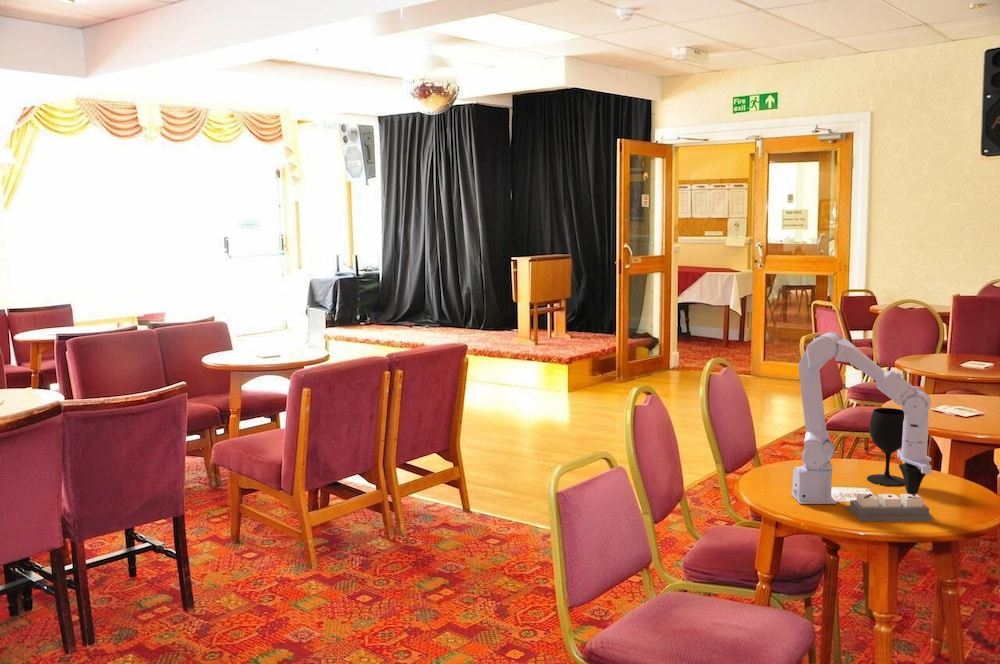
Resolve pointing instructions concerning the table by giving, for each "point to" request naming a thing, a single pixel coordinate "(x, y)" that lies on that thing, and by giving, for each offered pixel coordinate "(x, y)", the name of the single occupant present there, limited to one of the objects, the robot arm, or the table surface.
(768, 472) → the table surface
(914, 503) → the tile two
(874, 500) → the tile three
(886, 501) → the tile one
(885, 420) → the wine glass
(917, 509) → the tile board
